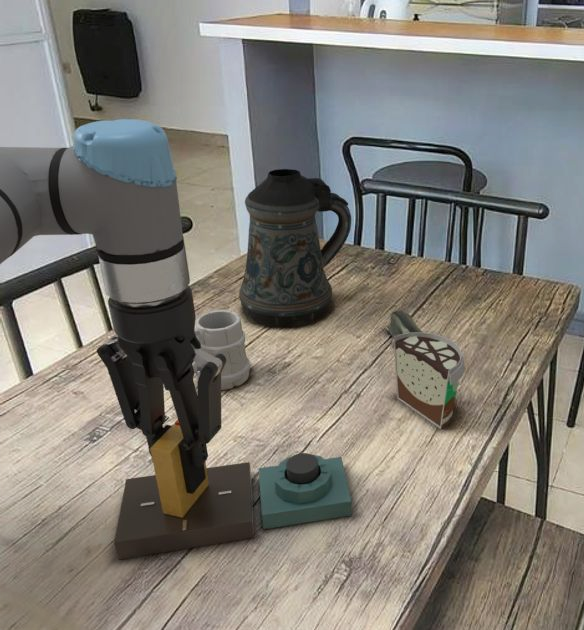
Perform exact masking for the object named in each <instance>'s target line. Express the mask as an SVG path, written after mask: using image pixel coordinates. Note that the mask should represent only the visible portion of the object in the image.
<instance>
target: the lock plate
mask: <svg viewBox="0 0 584 630" xmlns="http://www.w3.org/2000/svg"><path fill="white" fill-rule="evenodd" d="M206 469H207V476H208V482H209V485H208V487H207V488H206V489H205V490H204V492H203V493H202V494H201V495H200V497H199V498H198V499H197V500H196V502H195V503H194V504H193V505H192V507H191V508H190V509H189V510H188V512H187V513H186V514H185V515H184V517H183V518H181V517H177V516H173V515H168V514H164V513H163V509H162V504H161V499H160V494H159V489H158V484H157V479H156V474H152V475H146V476H140V477H139V476H137V477H131V478H126V479H125V482H124V487H123V492H122V493H123V494H122V498H121V503H120V510H119V514H118V518H117V519H118V520H117V525H116V530H115V536H114V541H113V545H114V548H115V553H116V556H117V560H125V559H131V558H138V557H143V556H150V555H156V554H162V553H169V552H175V551H181V550H186V549H193V548H199V547H205V546H211V545H218V544H223V543H230V542H234V541H241V540H242V541H243V540H249V539H254V538H255V526H254V523H255V522H254V505H253V485H252V484H253V482H252V481H253V480H252V471H251V463H250V461H248V462H247V461H246V462H241V463H232V464H226V465H225V464H224V465H220V466H218V465H217V466H211V467H206Z"/></svg>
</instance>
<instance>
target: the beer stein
mask: <svg viewBox="0 0 584 630" xmlns="http://www.w3.org/2000/svg"><path fill="white" fill-rule="evenodd" d="M244 205H245V208H246V211H247V213H248V215H249V224H248V235H247V236H248V238H247V239H248V240H247V250H246V251H247V253H246V262H245V270H244V274H243V279H242V282H241V285H240V288H239V292H238V298H239V301H240V304H241V308H242V311H243V314H244V316H245V317H246V319H247V320H248V321H249V323H251V324H252V323H253V324H256V325H259V326H263V327H266V328H277V329H278V328H281V329H293V328H296V327H301V326H302V327H303V326H307V325H310V324H313V323H315V322H317V321H319V320H322V319H323V318H324V317H325V316H326V315H327V314H328V313H329V312H330V309H331V303H332V298H333V287H332V285H331V283H330V281H329V279H328V277H327V275H326V272H325V269H324V268H325V267H327V266H328V265H329V264H330V263H331V262H332V260H334V259H335V257H336V256H337V255H338V253H340V251H341V249H342V248H343V246H344V245H345V243H346V241H347V240H348V237H349V235H350V232H351V229H352V215H351V214H352V213H351V210H350V208H349V202H348V201H347V200H346V199H345V198H343V197H341V196H339V194H337V193H335V192H332V190H331V188H330V186H329V185H327V184H326V182H325V181H324V180H323V179H322V178H319V177H311V178H310V177H309V178H307V177H306V176H304V175H302V174H301V171H300V170H297V169H289V168H281V169H280V168H279V169H272V170H270V171H268V174H267V176H266V178H265V179H264V180H262V182H260V183H259V184H258V185H257V186H256V187H255V188H253V189H252V190H251V191H250V192H249V193H248V194H247V196H245V199H244ZM329 211H330V212H333V213H335V215H337V218H338V220H337V221H338V222H337V225H336V226H335V230H334V232H333V233H332V235H331V236H330V238H329V239H328V240H327V241H326V242H325V244H324V245H323V247H321V243H320V237H319V231H318V225H317V221H316V213H317V212H320V213H321V212H329Z"/></svg>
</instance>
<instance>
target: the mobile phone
mask: <svg viewBox="0 0 584 630" xmlns="http://www.w3.org/2000/svg"><path fill="white" fill-rule="evenodd" d="M389 319H390V320H389V321H390V322H389V323H390V324H389V325H390V326H389V325H386V326H385V330H386V331H387V332H388V333H389V334H390V335H391V336H392V337H393V338H394V336H397V335H400V334H405V333H414V332H423V330H422V329H421V328H420V327H419V326H418V325H417V323H416V322H415V320H414V318H413V317H412V316H411V315H410V314H409V313H407V312H404V311H403V310H395V311H392V312H391V314H390V318H389Z"/></svg>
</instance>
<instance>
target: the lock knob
mask: <svg viewBox="0 0 584 630" xmlns="http://www.w3.org/2000/svg"><path fill="white" fill-rule="evenodd" d="M171 426H172V427H171V428H170V429H169V430H168V431H167V432H166V433H165V434H164V435H163V436H162V437H161V438H160V439H159V440H158V441H157V442H156V443H155V444H154V445H153V446H152V447H151V448H150V450H151V455H152V457H151V459H152V465H153V470H154V475H156V479H157V484H158V489H159V494H160V499H161V504H162V509H163V513H164V514H168V515H173V516H177V517H181V518H183V517H184V515H185V514H186V513H187V512H188V510H189V509H190V508H191V507H192V505H193V504H194V503H195V502H196V500H197V499H198V498H199V497H200V495H201V494H202V493H203V492H204V490H205V489H206V488H207V487H208V485H209V482H208V476H207V469H206V468H207V464H206V463H207V462H206V461H205V462H204V468H205V475H206V478H205V480H204V481H203V482H202V483H201V485H200V486H199V487H198V488H197V489H196V491H195V492H194V493H193V494H191V493H187V492H186V486H185V480H184V475H183V469H182V463H181V458H180V452H179V446H178V445H179V444H180V442H181V441H182V440H183V439H184V438H183V434H182V431H181V428H180V424H179V421H178V419H176V420H175V422H174V423H173V424H172V425H171ZM151 455H150V456H151Z"/></svg>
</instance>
